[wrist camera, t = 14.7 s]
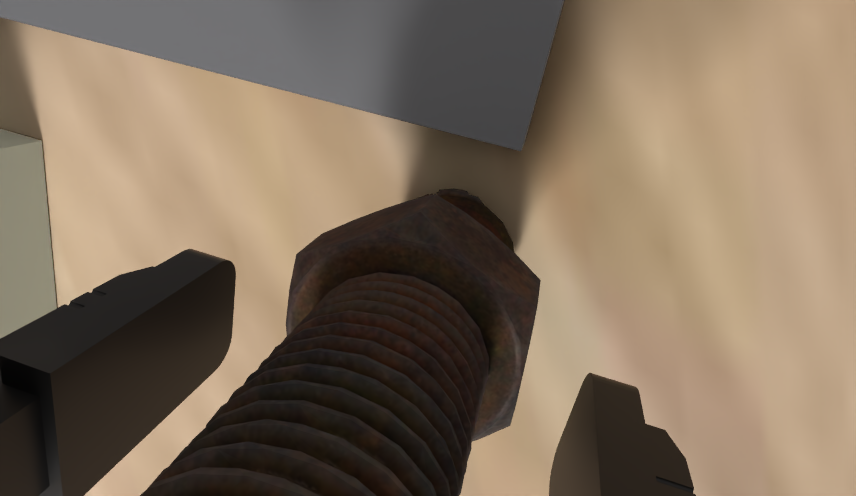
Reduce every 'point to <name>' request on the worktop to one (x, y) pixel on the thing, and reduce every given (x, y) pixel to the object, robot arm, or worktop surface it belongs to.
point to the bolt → (378, 362)
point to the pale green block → (24, 234)
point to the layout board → (344, 51)
